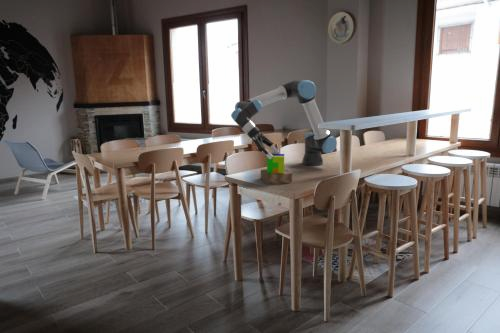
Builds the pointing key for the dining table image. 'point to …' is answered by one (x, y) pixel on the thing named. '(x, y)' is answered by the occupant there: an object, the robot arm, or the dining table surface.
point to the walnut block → (276, 177)
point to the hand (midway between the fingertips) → (274, 155)
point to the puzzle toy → (276, 164)
